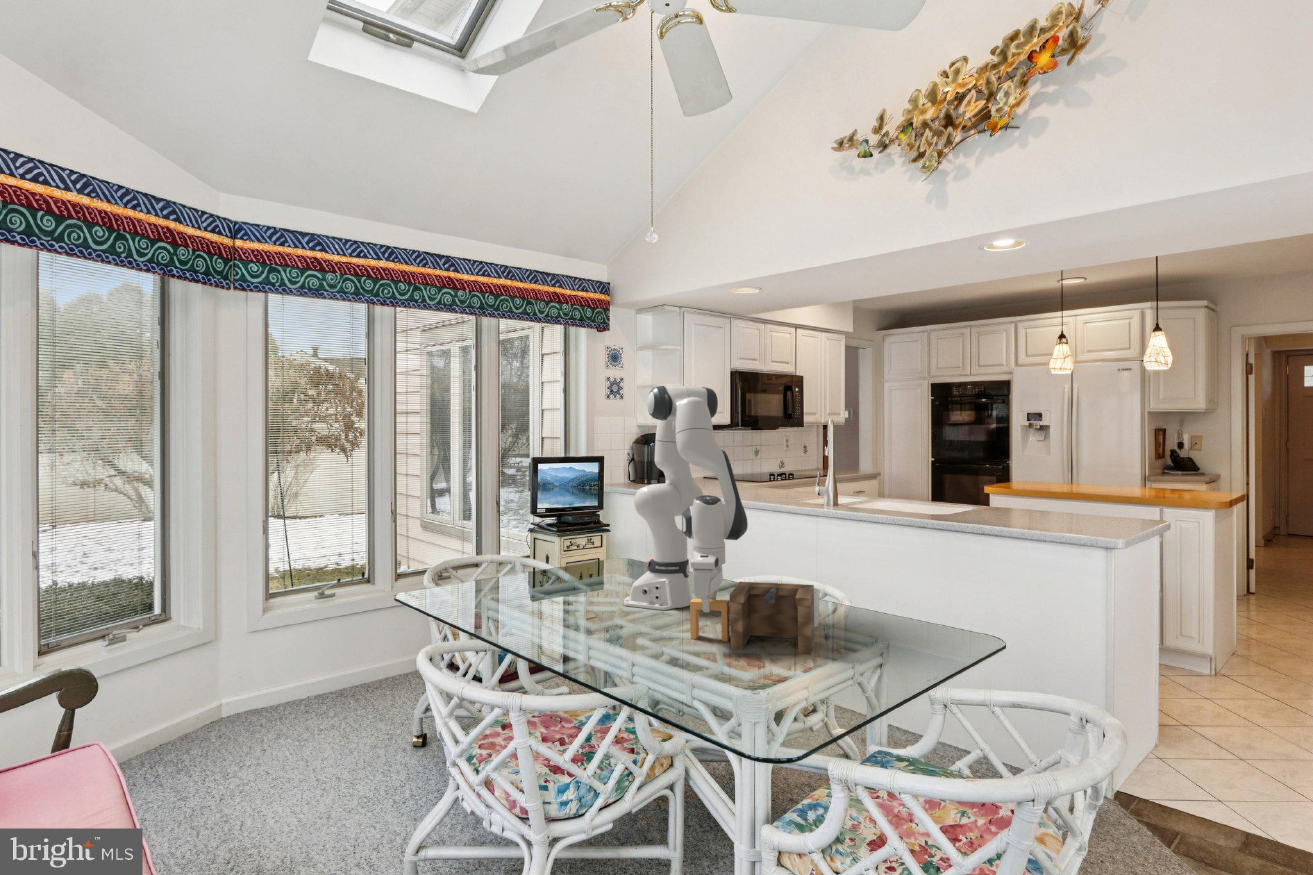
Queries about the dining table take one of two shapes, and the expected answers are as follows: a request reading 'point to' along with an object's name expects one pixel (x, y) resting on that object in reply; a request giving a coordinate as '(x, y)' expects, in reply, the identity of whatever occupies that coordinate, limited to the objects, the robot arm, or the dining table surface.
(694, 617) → the wooden arch block
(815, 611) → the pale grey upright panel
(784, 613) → the notched shelf
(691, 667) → the dining table surface
